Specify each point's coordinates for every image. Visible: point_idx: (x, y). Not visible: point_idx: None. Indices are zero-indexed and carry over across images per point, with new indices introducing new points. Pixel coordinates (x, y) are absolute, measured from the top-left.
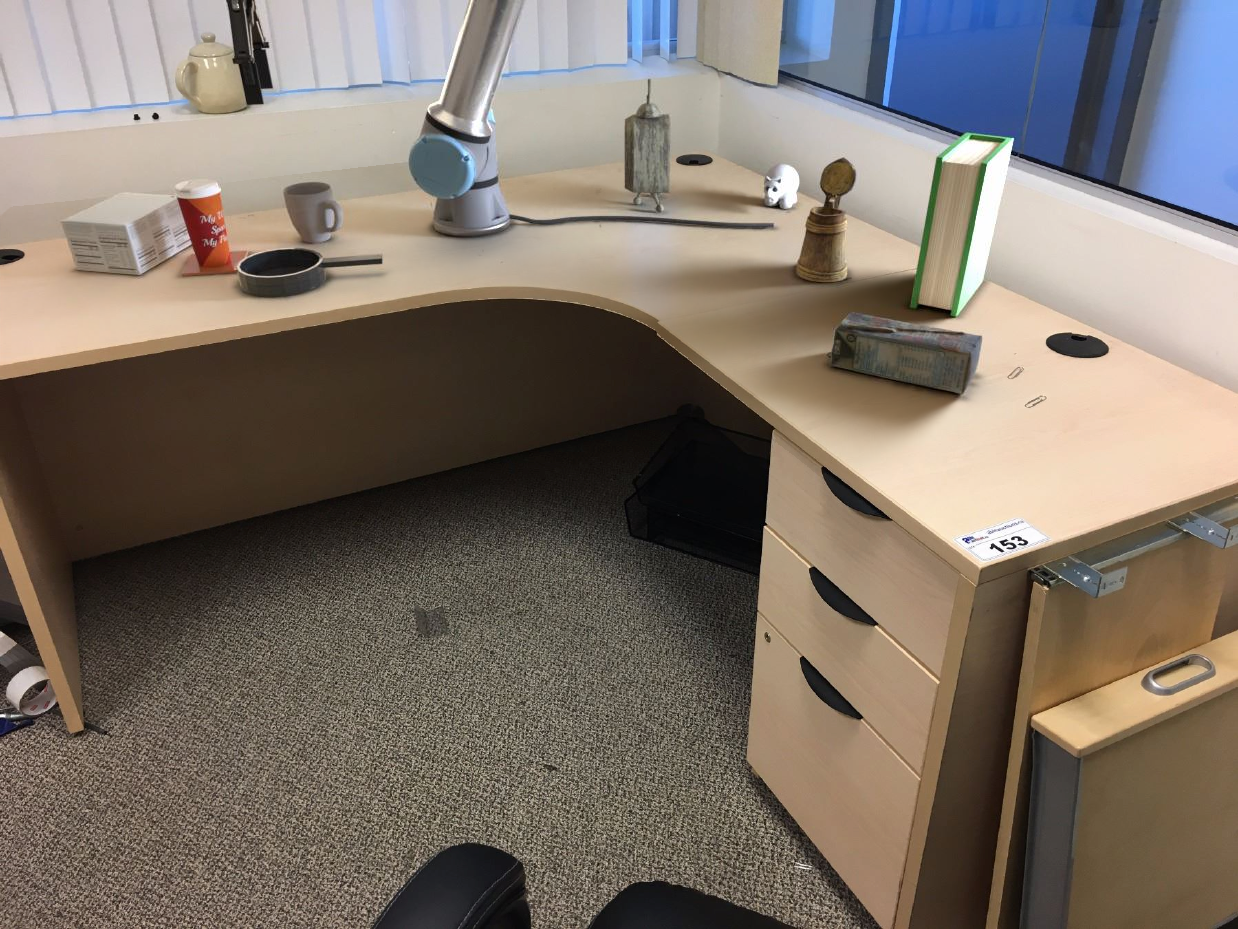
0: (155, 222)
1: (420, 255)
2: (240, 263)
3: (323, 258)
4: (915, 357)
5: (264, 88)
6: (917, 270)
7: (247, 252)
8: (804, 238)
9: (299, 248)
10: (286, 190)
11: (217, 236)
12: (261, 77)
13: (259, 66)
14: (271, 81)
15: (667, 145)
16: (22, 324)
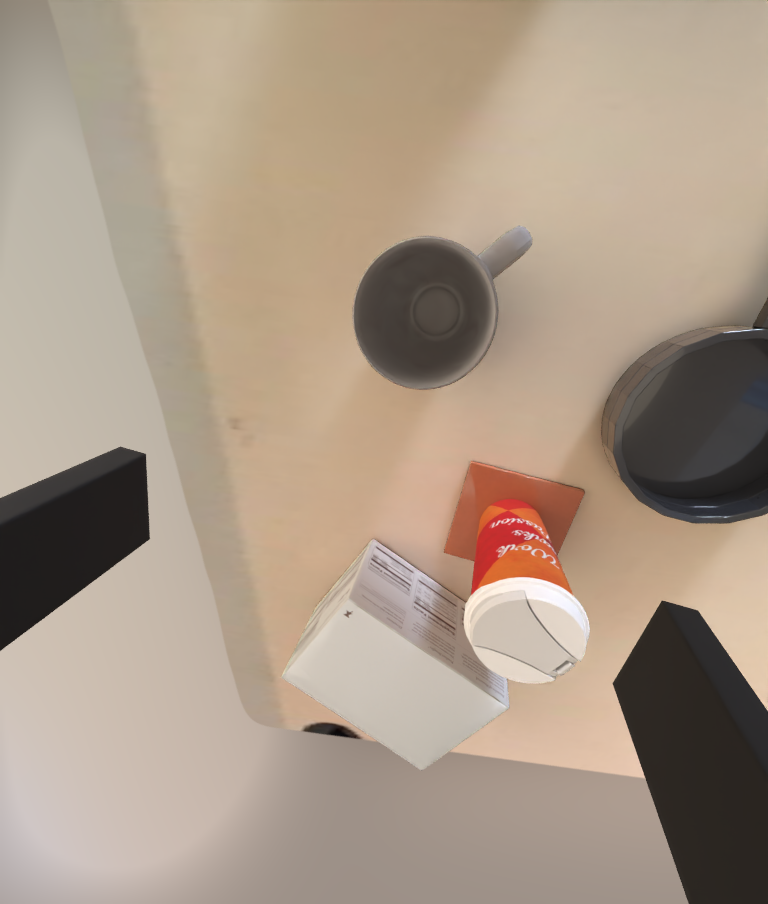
0: (439, 640)
1: (745, 9)
2: (672, 511)
3: (765, 328)
4: None
5: (147, 501)
6: None
7: (480, 464)
8: None
9: (647, 377)
10: (394, 377)
11: (553, 547)
12: (87, 543)
13: (2, 597)
14: (99, 468)
15: None
16: (632, 766)
